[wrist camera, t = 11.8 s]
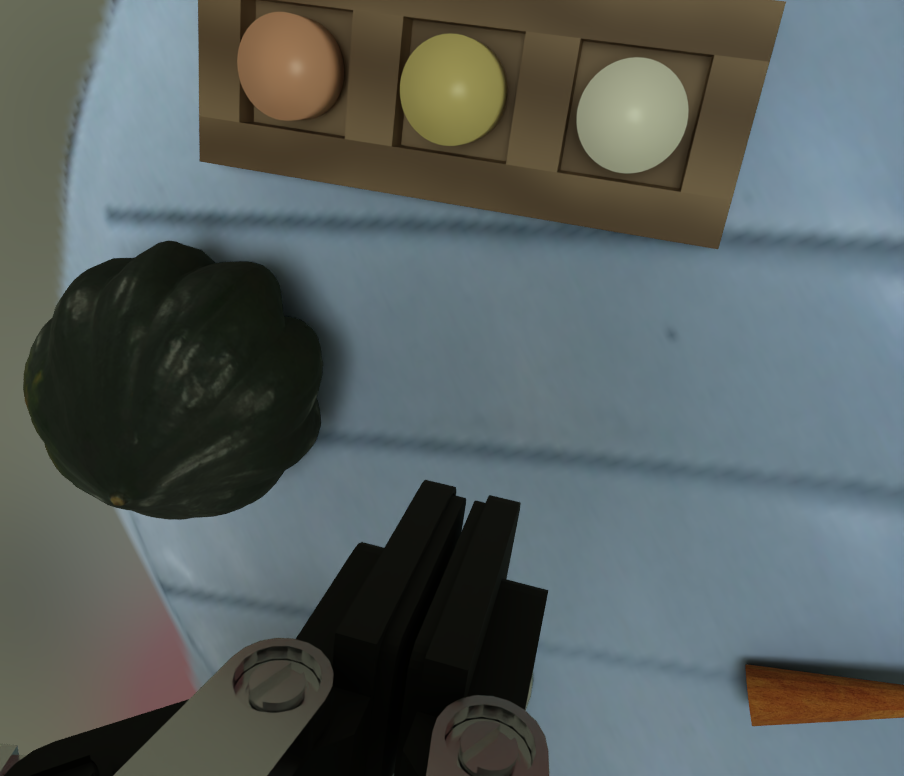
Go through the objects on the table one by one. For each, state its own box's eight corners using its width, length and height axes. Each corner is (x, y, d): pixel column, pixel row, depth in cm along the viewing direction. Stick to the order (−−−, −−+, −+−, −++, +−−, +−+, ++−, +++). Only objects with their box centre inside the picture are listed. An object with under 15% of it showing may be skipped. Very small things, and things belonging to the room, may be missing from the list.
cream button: (671, 177, 33) (673, 181, 31) (570, 161, 33) (567, 164, 32) (698, 67, 31) (701, 65, 29) (590, 53, 32) (588, 50, 30)
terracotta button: (340, 126, 35) (326, 127, 34) (254, 113, 36) (236, 113, 35) (347, 22, 34) (332, 18, 32) (256, 10, 34) (237, 6, 33)
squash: (23, 196, 37) (-110, 470, 30) (294, 182, 34) (213, 485, 27) (167, 340, 49) (95, 557, 43) (376, 339, 46) (334, 574, 40)
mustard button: (499, 150, 34) (492, 153, 32) (406, 136, 35) (395, 138, 33) (515, 43, 32) (508, 40, 31) (416, 31, 33) (405, 27, 31)
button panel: (713, 239, 35) (718, 249, 33) (224, 158, 39) (199, 161, 37) (775, 9, 31) (786, 1, 29) (225, -53, 36) (197, -64, 33)
